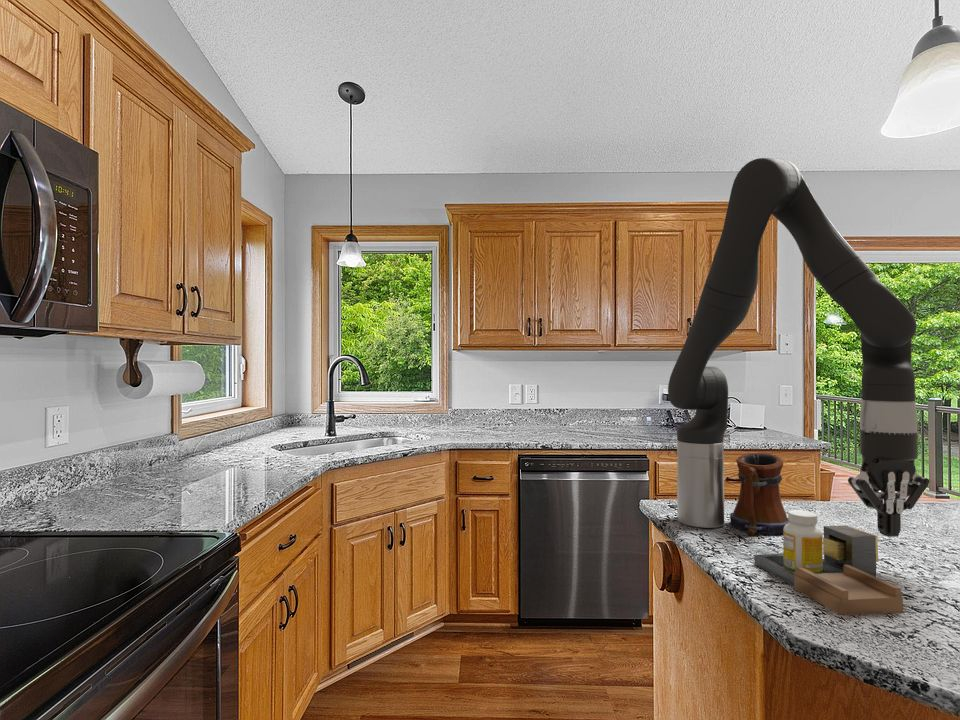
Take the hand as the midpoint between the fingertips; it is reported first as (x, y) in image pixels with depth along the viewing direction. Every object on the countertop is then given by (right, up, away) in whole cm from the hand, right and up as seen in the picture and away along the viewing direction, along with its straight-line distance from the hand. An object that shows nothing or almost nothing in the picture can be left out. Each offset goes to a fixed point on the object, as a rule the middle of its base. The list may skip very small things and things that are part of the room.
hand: (888, 535), depth 89 cm
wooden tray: (-15, -5, -12) cm, 20 cm away
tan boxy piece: (-7, -3, -1) cm, 8 cm away
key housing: (-7, -6, -1) cm, 9 cm away
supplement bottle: (-15, -6, -2) cm, 16 cm away
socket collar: (-15, -6, -2) cm, 16 cm away
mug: (-11, -6, +22) cm, 25 cm away
